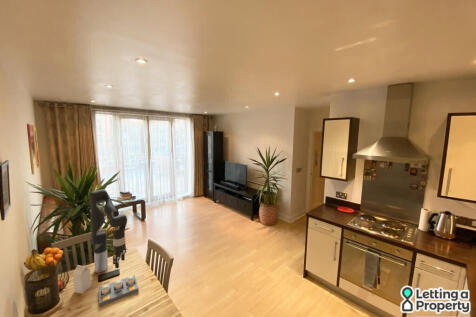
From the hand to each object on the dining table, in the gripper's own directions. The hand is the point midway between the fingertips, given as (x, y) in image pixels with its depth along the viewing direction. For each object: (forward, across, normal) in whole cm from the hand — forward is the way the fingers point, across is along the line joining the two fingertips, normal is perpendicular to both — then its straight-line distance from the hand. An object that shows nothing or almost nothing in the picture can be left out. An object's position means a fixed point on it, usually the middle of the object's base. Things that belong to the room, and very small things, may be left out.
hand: (120, 263), depth 142 cm
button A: (+20, +2, -10) cm, 22 cm away
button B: (+20, -2, -3) cm, 20 cm away
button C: (+20, -6, +4) cm, 21 cm away
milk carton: (+24, -6, -30) cm, 39 cm away
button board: (+24, -2, -3) cm, 24 cm away
